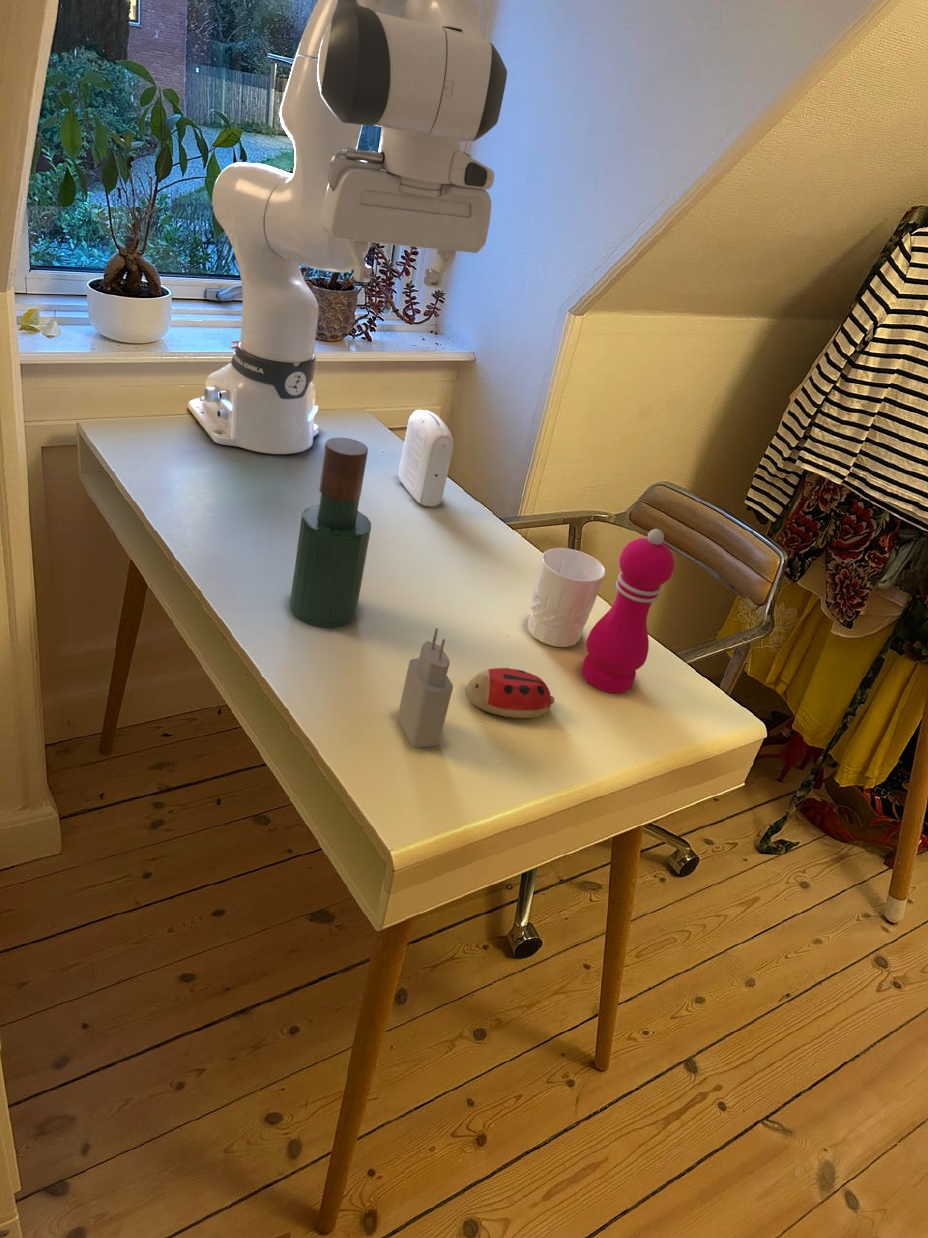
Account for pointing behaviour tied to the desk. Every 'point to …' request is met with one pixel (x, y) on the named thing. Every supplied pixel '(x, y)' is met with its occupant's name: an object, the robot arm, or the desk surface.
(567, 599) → the white cup
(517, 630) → the desk surface
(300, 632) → the desk surface
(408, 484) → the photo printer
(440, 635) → the desk surface
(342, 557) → the bottle
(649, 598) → the pepper mill
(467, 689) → the ladybug figurine
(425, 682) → the power adapter
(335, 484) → the stopper
